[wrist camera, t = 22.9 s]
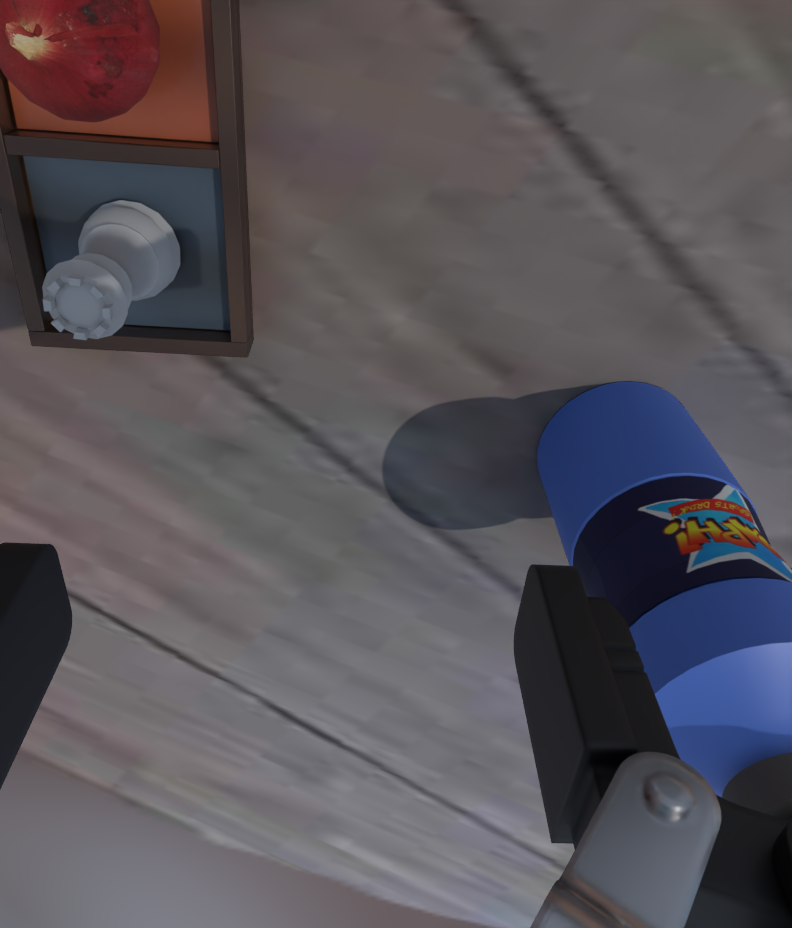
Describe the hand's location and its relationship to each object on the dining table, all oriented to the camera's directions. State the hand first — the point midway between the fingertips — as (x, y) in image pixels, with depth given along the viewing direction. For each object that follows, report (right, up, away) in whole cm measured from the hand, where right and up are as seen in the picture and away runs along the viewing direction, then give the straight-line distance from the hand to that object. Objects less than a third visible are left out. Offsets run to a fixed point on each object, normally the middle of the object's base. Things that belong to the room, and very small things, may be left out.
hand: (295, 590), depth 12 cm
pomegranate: (-10, +20, +17) cm, 28 cm away
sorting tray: (-10, +17, +20) cm, 28 cm away
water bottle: (+15, +3, +30) cm, 33 cm away
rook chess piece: (-11, +13, +22) cm, 27 cm away
